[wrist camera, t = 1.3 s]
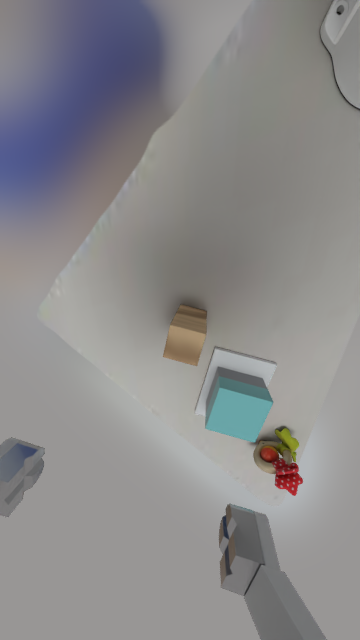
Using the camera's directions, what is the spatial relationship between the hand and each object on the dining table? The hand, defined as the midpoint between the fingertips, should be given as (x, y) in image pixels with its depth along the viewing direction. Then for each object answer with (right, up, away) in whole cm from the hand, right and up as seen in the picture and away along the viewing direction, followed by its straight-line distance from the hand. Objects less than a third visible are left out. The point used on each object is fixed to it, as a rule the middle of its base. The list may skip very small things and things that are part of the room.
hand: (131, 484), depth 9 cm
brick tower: (+13, -7, +35) cm, 38 cm away
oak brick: (+4, +7, +32) cm, 33 cm away
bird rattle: (+22, -19, +38) cm, 48 cm away
